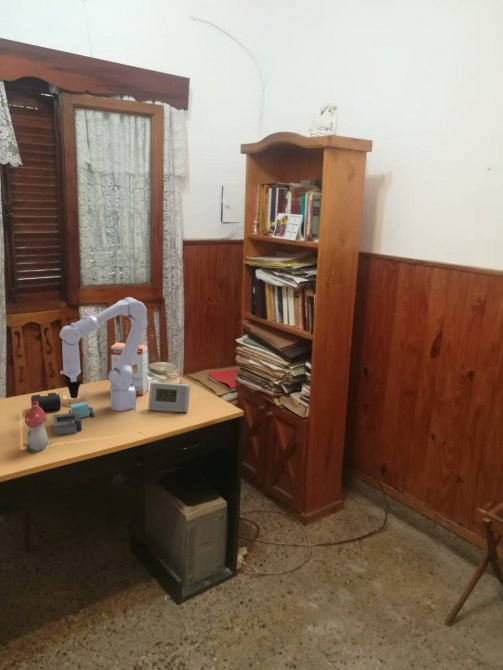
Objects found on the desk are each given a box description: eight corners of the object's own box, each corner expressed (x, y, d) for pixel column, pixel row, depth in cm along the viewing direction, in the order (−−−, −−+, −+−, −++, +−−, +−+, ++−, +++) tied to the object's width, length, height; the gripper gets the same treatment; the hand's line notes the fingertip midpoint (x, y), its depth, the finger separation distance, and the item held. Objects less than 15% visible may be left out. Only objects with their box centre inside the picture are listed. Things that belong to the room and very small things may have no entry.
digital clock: (145, 410, 204) (145, 384, 202) (156, 402, 213) (156, 377, 210) (183, 416, 200) (183, 390, 197) (193, 408, 208) (193, 383, 205)
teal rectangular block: (91, 411, 197) (89, 400, 196) (92, 415, 194) (90, 404, 193) (72, 415, 195) (70, 404, 194) (73, 419, 192) (71, 408, 191)
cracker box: (111, 393, 221) (110, 345, 216) (117, 388, 227) (116, 341, 222) (143, 396, 219) (142, 348, 214) (148, 391, 225) (147, 344, 220)
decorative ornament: (33, 440, 175) (30, 398, 172) (52, 441, 175) (50, 399, 172) (21, 453, 166) (18, 409, 163) (41, 454, 166) (39, 410, 163)
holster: (92, 412, 200) (92, 406, 199) (95, 420, 193) (94, 413, 193) (68, 415, 196) (67, 409, 195) (69, 423, 190) (69, 416, 189)
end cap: (33, 417, 194) (31, 400, 192) (30, 410, 200) (29, 394, 198) (61, 413, 198) (60, 396, 197) (58, 406, 204) (57, 390, 203)
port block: (79, 423, 190) (79, 410, 189) (82, 434, 181) (81, 421, 180) (53, 426, 186) (53, 413, 185) (55, 438, 177) (54, 424, 176)
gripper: (58, 354, 194) (60, 388, 197) (60, 365, 181) (62, 402, 184) (78, 352, 196) (80, 386, 200) (81, 364, 184) (83, 400, 187)
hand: (73, 394), depth 192 cm, fingers open, 7 cm apart
